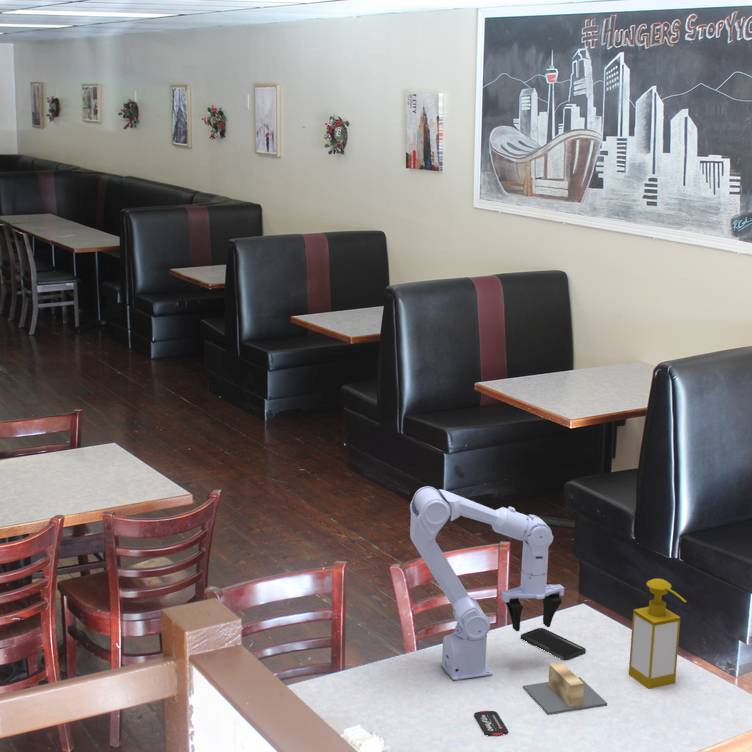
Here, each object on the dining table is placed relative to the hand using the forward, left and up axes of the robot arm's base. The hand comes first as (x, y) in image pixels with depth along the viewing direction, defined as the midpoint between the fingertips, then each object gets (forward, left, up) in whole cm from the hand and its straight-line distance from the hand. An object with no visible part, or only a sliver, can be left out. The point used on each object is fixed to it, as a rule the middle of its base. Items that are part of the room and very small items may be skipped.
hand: (531, 627), depth 248 cm
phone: (+10, +8, -10) cm, 16 cm away
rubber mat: (+1, -15, -9) cm, 18 cm away
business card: (-19, -21, -10) cm, 30 cm away
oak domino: (+1, -15, -9) cm, 18 cm away
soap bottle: (+24, -16, -10) cm, 30 cm away
